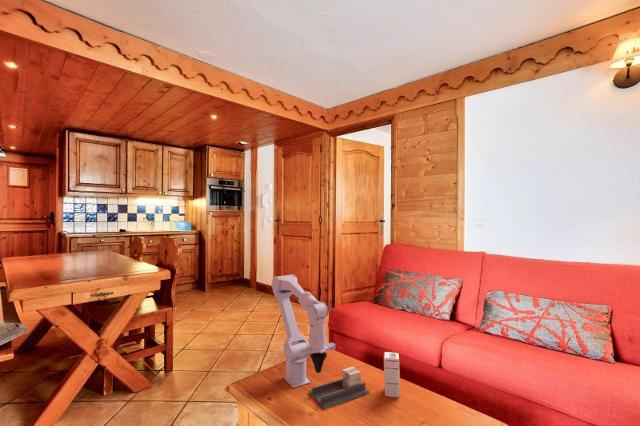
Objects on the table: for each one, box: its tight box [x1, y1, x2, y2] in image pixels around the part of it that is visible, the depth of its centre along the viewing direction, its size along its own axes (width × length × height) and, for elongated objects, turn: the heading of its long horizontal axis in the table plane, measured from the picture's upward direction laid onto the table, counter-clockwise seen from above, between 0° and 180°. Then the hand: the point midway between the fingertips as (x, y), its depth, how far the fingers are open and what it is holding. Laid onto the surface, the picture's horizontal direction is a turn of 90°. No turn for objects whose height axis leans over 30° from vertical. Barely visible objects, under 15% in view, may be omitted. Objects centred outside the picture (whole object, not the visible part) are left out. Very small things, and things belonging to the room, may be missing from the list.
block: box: [342, 366, 362, 388], centre depth 124 cm, size 5×5×6 cm
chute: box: [308, 377, 370, 410], centre depth 121 cm, size 12×20×3 cm, turn 119°
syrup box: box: [383, 351, 401, 398], centre depth 121 cm, size 6×6×14 cm
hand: (318, 371), depth 119 cm, fingers closed
